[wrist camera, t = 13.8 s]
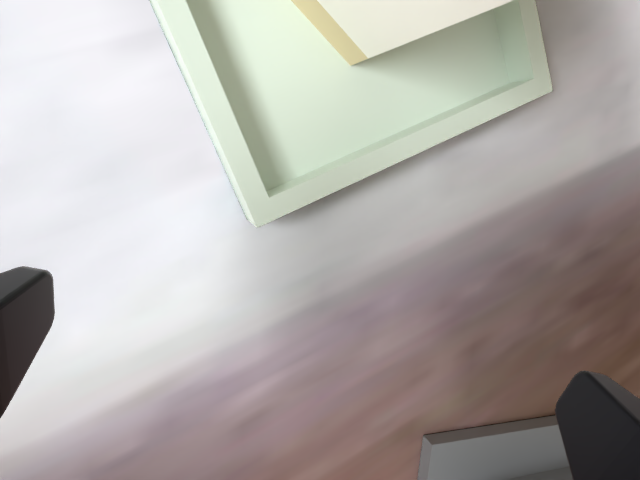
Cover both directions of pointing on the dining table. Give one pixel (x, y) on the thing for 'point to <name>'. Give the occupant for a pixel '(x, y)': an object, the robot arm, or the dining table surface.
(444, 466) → the grey square socket base
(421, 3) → the white tall block
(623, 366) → the dining table surface
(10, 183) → the dining table surface
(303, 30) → the tray
